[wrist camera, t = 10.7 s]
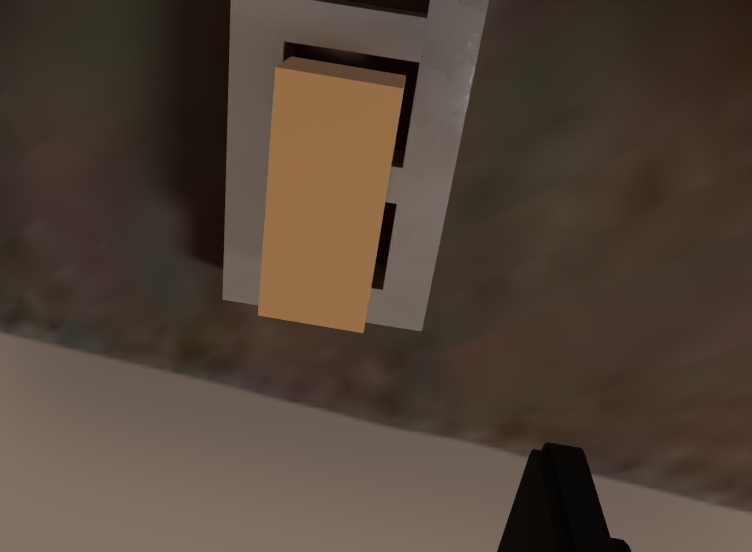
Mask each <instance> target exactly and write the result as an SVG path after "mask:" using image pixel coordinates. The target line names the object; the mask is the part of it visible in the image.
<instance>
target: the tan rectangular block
mask: <svg viewBox="0 0 752 552" xmlns="http://www.w3.org/2000/svg"><path fill="white" fill-rule="evenodd" d="M405 80H406V75H400V74H394V73H388V72H382V71H376V70H370V69H364V68H358V67H352V66H346V65H340V64H334V63H328V62H322V61H316V60H310V59H304V58H298V57H292V56H291V57H290V58H288V59H287V60H285V61H284V62H282V63H281V64H279V65H278V66H276V67H275V78H274V92H273V107H272V121H271V135H270V150H269V164H268V178H267V193H266V207H265V221H264V236H263V250H262V264H261V279H260V293H259V307H258V315H259V316H265V317H271V318H277V319H283V320H289V321H295V322H301V323H307V324H313V325H319V326H324V327H330V328H336V329H342V330H348V331H354V332H360V333H363V332H364V326H365V321H366V315H367V310H368V304H369V299H370V293H371V287H372V280H373V274H374V268H375V262H376V256H377V250H378V244H379V238H380V232H381V226H382V220H383V214H384V207H385V201H386V195H387V189H388V183H389V177H390V171H391V165H392V159H393V153H394V147H395V140H396V134H397V128H398V122H399V116H400V110H401V104H402V98H403V92H404V86H405Z"/></svg>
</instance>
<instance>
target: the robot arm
mask: <svg viewBox="0 0 752 552" xmlns="http://www.w3.org/2000/svg"><path fill="white" fill-rule="evenodd" d="M497 552H631V549H630V547H629V546H628V544H626V542H625V541H624V540H620V539H616V538H610V535H609V531H608V528H607V524H606V521H605V518H604V515H603V511H602V508H601V505H600V502H599V498H598V495H597V492H596V489H595V485H594V482H593V479H592V476H591V472H590V469H589V466H588V463H587V459H586V456H585V453H584V451H583V450H582V449H581V448H578V447H572V446H566V445H560V444H554V443H545V444H544V446H543V448H542V450H535V449H534V450H532V451H531V453H530V455H529V458H528V461H527V464H526V467H525V470H524V473H523V476H522V479H521V482H520V485H519V488H518V491H517V494H516V497H515V500H514V503H513V506H512V509H511V512H510V515H509V518H508V521H507V524H506V527H505V530H504V533H503V536H502V539H501V542H500V545H499V548H498V551H497Z"/></svg>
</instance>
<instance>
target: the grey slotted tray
mask: <svg viewBox="0 0 752 552" xmlns="http://www.w3.org/2000/svg"><path fill="white" fill-rule="evenodd" d="M488 2H489V0H429V7H428V13H422V12H415V11H409V10H402V9H396V8H390V7H383V6H377V5H370V4H364V3H357V2H351V1H345V0H231V10H230V47H229V84H228V121H227V158H226V195H225V232H224V269H223V300H229V301H235V302H241V303H248V304H254V305H259V293H260V279H261V264H262V250H263V236H264V221H265V207H266V193H267V178H268V164H269V150H270V135H271V121H272V107H273V92H274V78H275V67H276V66H278V65H279V64H281V63H282V62H284V61H285V60H287V59H288V58H290V57H291V56H292V57H296V45H297V43H298V44H305V45H311V46H317V47H324V48H330V49H337V50H343V51H349V52H356V53H362V54H369V55H375V56H381V57H388V58H394V59H401V60H407V61H413V62H419V68H418V74H417V81H416V87H415V93H414V99H413V105H412V111H411V118H410V124H409V130H408V136H407V142H406V148H405V151H401V150H395V149H394V153H393V159H392V165H391V171H390V177H389V183H388V189H387V195H386V201H385V202H388V203H395V204H396V210H395V216H394V222H393V228H392V235H391V241H390V247H389V253H388V259H387V265H383V264H376V263H375V268H374V274H373V280H372V287H371V293H370V299H369V304H368V310H367V315H366V321H365V322H367V323H373V324H379V325H386V326H392V327H398V328H404V329H411V330H417V331H422V327H423V322H424V317H425V313H426V308H427V303H428V298H429V293H430V288H431V283H432V278H433V273H434V268H435V263H436V258H437V253H438V248H439V243H440V238H441V234H442V229H443V224H444V219H445V214H446V209H447V204H448V199H449V194H450V189H451V184H452V179H453V174H454V169H455V164H456V159H457V155H458V150H459V145H460V140H461V135H462V130H463V125H464V120H465V115H466V110H467V105H468V100H469V95H470V90H471V85H472V81H473V76H474V71H475V66H476V61H477V56H478V51H479V46H480V41H481V36H482V31H483V26H484V21H485V16H486V11H487V6H488Z"/></svg>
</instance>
